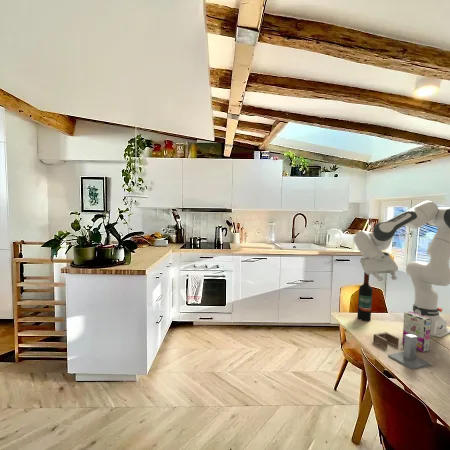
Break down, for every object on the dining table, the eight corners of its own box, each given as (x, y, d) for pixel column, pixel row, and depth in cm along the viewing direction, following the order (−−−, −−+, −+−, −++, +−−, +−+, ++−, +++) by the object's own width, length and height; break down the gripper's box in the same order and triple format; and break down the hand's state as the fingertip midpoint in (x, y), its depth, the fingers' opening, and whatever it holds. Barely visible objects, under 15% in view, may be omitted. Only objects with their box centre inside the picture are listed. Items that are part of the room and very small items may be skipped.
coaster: (406, 352, 146) (406, 350, 146) (431, 365, 134) (431, 363, 134) (388, 356, 141) (388, 354, 141) (412, 369, 130) (412, 368, 130)
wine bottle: (371, 318, 189) (374, 271, 187) (369, 322, 183) (372, 273, 180) (358, 315, 193) (361, 269, 191) (356, 319, 187) (359, 271, 185)
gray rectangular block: (409, 356, 140) (411, 333, 139) (415, 359, 137) (417, 336, 136) (403, 358, 139) (405, 334, 138) (409, 361, 136) (411, 337, 135)
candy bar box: (429, 351, 148) (432, 318, 147) (423, 352, 146) (425, 319, 145) (408, 341, 158) (410, 310, 157) (401, 342, 156) (403, 311, 155)
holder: (385, 339, 159) (386, 332, 159) (398, 345, 152) (398, 338, 152) (373, 341, 156) (373, 334, 156) (385, 348, 149) (385, 340, 149)
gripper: (362, 254, 155) (376, 277, 147) (391, 253, 163) (406, 275, 154) (355, 261, 160) (368, 284, 151) (383, 259, 167) (398, 281, 159)
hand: (388, 279), depth 153 cm, fingers open, 8 cm apart
